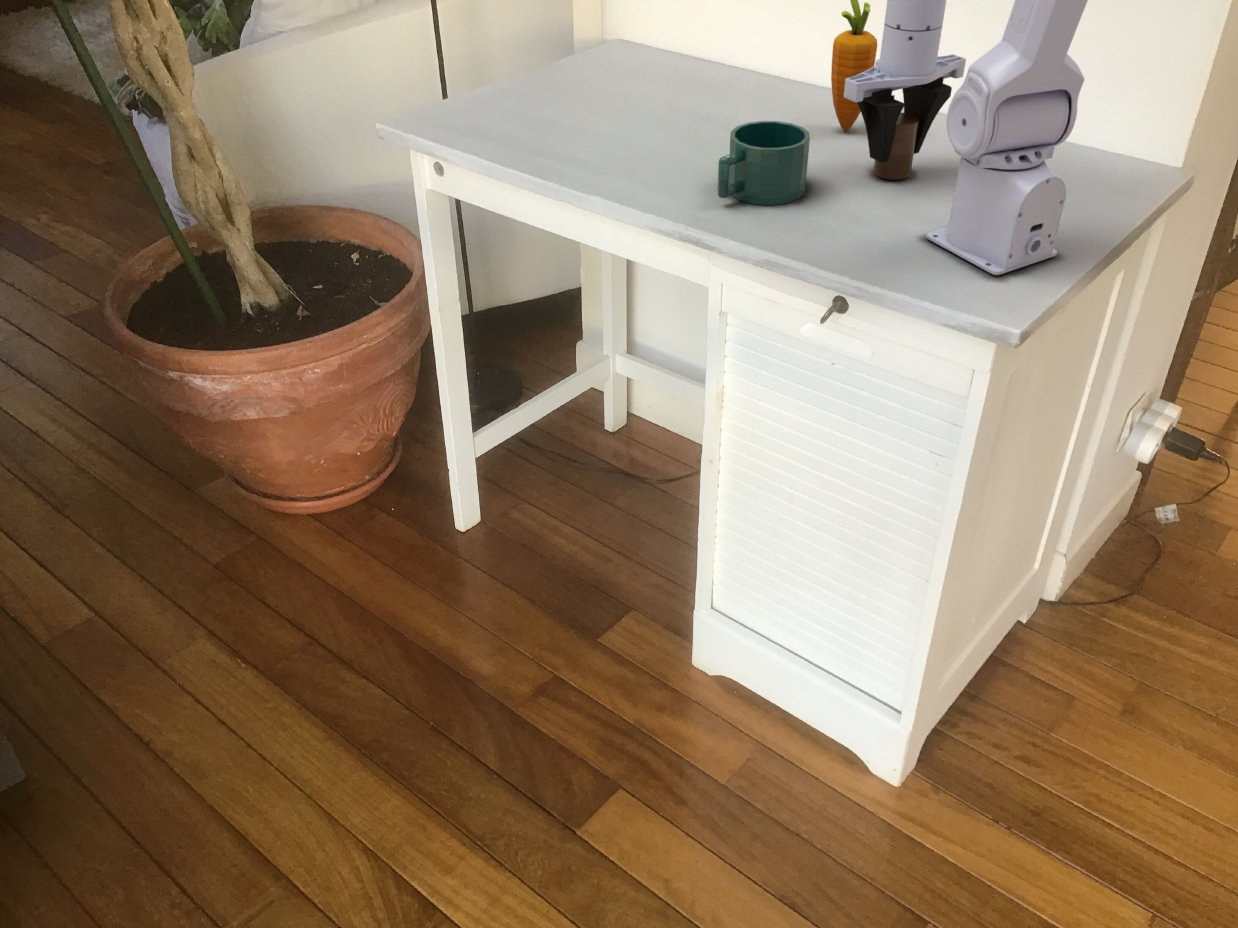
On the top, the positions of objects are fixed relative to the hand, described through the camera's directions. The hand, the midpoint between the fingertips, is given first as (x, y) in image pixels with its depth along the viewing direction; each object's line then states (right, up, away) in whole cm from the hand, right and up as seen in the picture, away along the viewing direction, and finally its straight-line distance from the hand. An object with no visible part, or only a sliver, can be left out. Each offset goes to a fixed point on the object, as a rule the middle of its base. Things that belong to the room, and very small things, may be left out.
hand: (894, 155), depth 111 cm
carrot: (-3, +6, +12) cm, 14 cm away
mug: (-15, -5, -2) cm, 16 cm away
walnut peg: (0, -2, +1) cm, 2 cm away
